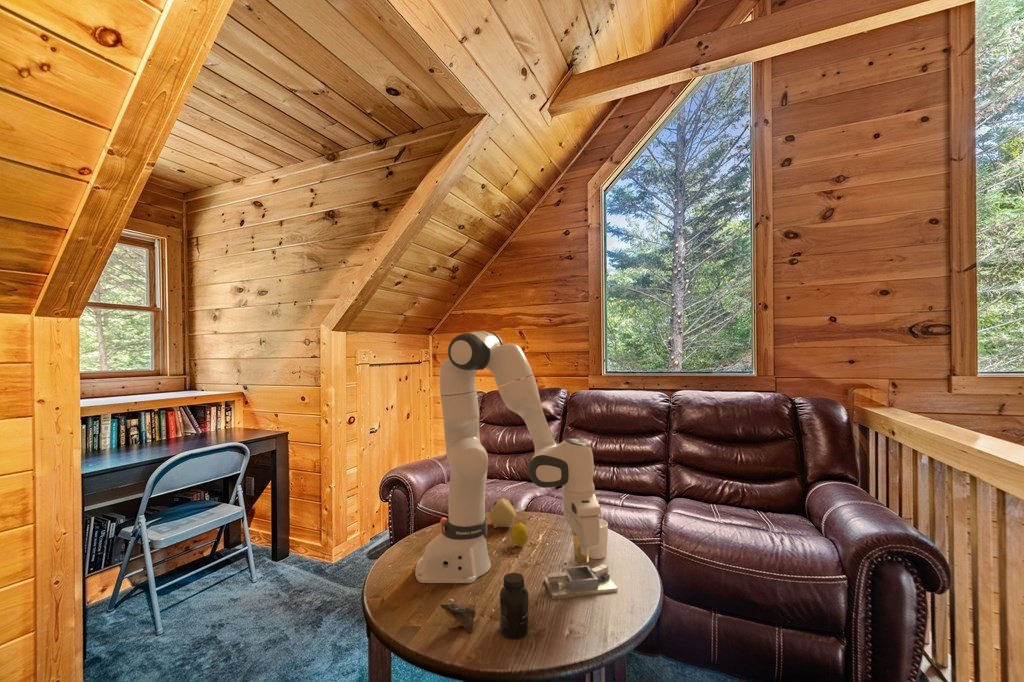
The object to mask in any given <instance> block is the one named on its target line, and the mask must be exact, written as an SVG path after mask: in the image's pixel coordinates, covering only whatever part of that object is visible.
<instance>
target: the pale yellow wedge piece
mask: <svg viewBox="0 0 1024 682" xmlns="http://www.w3.org/2000/svg"><path fill="white" fill-rule="evenodd" d="M488 516H489V520H490V521H491V523H492V525H493V528H495V529H496V528H498V527H499V528H512V526H513V523H514V522H515V520H516V518H517V513H516V510H515V507H514V503H513V501H511V500H509V499H506V498H504V497H501V498H499V499H498V500H497V501H495V502H494V503H493V507H492V509H491V510H490V512H489V515H488Z"/></svg>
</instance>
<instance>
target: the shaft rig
mask: <svg viewBox="0 0 1024 682" xmlns="http://www.w3.org/2000/svg"><path fill="white" fill-rule="evenodd" d="M610 577H611V576H610V574H609V566H608V565H606V564H604V563H602V564H600V565H598V566H595V567H593V568H591V566H589V565H588V564H587V565H577V566H566V567H565V566H564V567H562V572H561V571H560V572H552V573H551V572H550V573H547V576H544V578H543V580H544V583H545V586H546V588H547V590H548V591H549V594H550V596H551V598H552V600H559V599H567V598H575V597H583V596H591V595H600V594H609V593H618V587H617V585H616V584H615V583H614V581H613V580H612V579H611V578H610Z"/></svg>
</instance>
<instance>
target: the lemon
mask: <svg viewBox="0 0 1024 682" xmlns="http://www.w3.org/2000/svg"><path fill="white" fill-rule="evenodd" d="M528 533H529V532H528V528H527V526H526V525H525V524H524V523H522V522H520V521H518V522H517V523H514V524H513V525H512V526H511V532H510V537H511V541H512V542H513V543H514V544H515V545H517V547H522V546H523V545H524V544H526V542H527V540H528Z"/></svg>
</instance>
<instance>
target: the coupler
mask: <svg viewBox="0 0 1024 682" xmlns="http://www.w3.org/2000/svg"><path fill="white" fill-rule="evenodd" d="M580 544H581V542H580V539H579V538H578V537H577V535H576V534H575V533H574V543H573V554H574V558H573V559H574V562H576V563H578V564H587V563H589V562H590V557H589V548H587V552H588V553H587V554H586V555H582V554H581V553H580V551H579V550H580V549H579V546H580Z"/></svg>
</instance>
